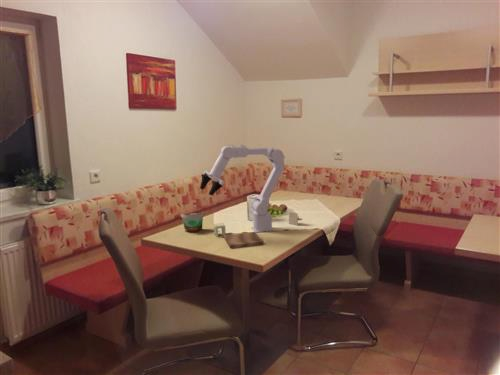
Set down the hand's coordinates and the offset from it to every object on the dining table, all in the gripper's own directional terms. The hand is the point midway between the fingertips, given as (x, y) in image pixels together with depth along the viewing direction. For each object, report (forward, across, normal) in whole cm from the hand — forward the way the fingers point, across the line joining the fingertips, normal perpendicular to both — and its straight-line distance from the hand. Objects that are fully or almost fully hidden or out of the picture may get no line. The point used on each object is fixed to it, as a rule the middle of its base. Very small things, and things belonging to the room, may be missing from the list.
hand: (205, 191), depth 210 cm
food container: (+23, -5, +12) cm, 26 cm away
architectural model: (-5, +26, +47) cm, 54 cm away
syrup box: (+4, +3, +43) cm, 43 cm away
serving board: (+12, +26, +13) cm, 31 cm away
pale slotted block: (+17, +10, +14) cm, 24 cm away
